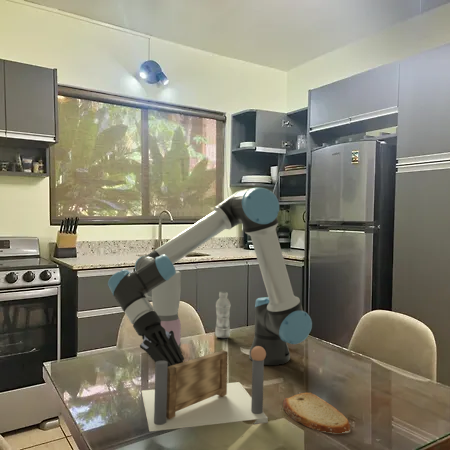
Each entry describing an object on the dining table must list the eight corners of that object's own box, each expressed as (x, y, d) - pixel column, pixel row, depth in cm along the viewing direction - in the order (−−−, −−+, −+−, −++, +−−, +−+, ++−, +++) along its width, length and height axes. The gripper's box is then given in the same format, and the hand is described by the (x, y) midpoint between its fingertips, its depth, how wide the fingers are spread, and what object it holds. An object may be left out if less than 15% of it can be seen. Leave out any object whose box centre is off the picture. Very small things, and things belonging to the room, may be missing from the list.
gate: (169, 419, 104) (170, 369, 104) (164, 416, 105) (165, 367, 105) (226, 394, 119) (227, 351, 119) (221, 392, 121) (222, 350, 121)
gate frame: (240, 385, 130) (242, 326, 130) (269, 422, 107) (271, 350, 107) (141, 394, 122) (142, 331, 121) (149, 436, 99) (151, 358, 98)
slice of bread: (352, 438, 101) (353, 422, 101) (278, 427, 105) (278, 412, 105) (348, 406, 118) (348, 393, 118) (284, 398, 122) (284, 385, 122)
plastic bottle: (228, 340, 179) (229, 293, 178) (213, 339, 180) (214, 293, 180) (231, 336, 185) (232, 291, 185) (216, 335, 186) (217, 290, 186)
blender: (184, 345, 170) (186, 267, 170) (176, 354, 158) (178, 270, 158) (146, 342, 172) (148, 265, 172) (136, 352, 160) (138, 269, 160)
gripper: (150, 320, 128) (194, 387, 120) (120, 330, 116) (166, 404, 108) (165, 306, 125) (210, 373, 117) (135, 314, 113) (183, 389, 106)
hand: (189, 388), depth 113 cm, fingers closed
